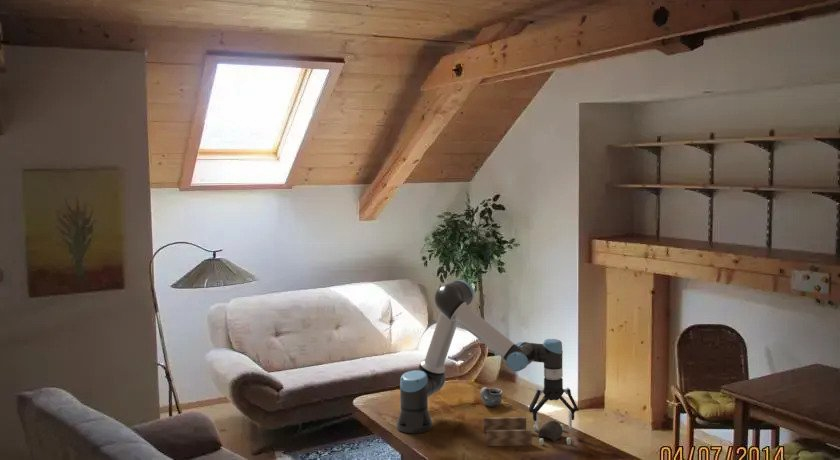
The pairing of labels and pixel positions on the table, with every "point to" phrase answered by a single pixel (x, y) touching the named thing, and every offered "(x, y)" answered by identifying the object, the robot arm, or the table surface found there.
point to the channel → (507, 431)
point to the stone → (551, 430)
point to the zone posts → (541, 440)
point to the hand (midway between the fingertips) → (553, 428)
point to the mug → (491, 396)
